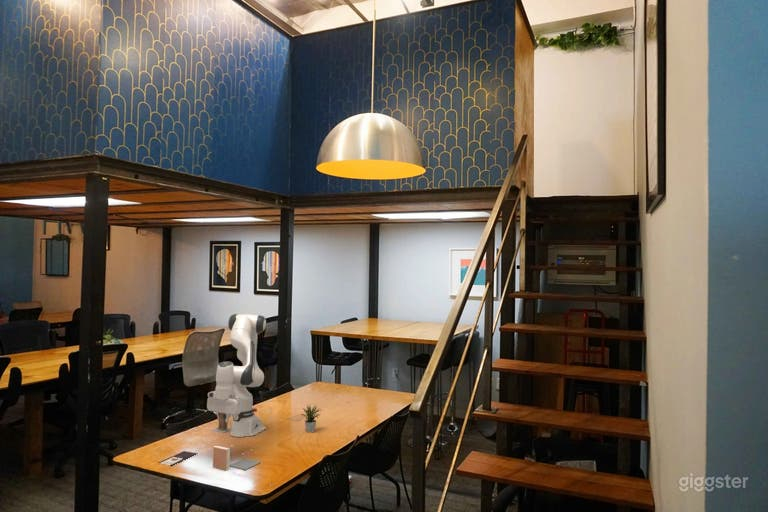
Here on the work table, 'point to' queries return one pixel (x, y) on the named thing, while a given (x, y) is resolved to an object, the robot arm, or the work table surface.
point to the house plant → (310, 418)
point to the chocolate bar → (178, 458)
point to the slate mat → (244, 464)
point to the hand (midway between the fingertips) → (223, 421)
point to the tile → (221, 457)
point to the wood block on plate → (222, 424)
